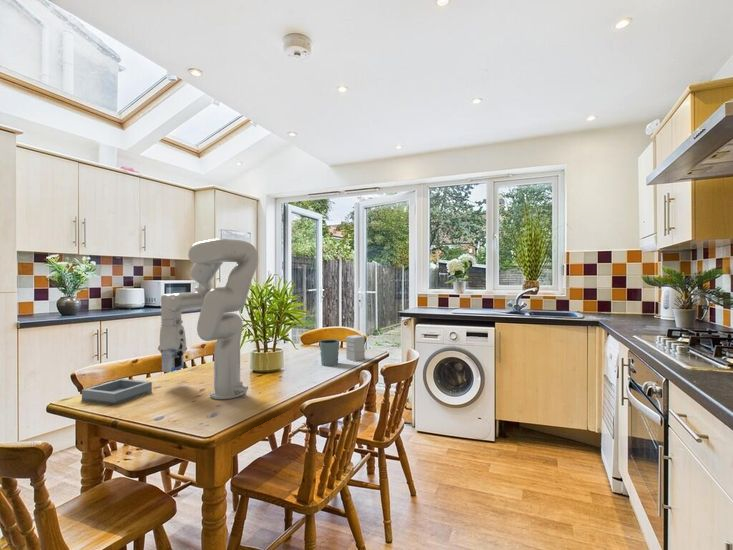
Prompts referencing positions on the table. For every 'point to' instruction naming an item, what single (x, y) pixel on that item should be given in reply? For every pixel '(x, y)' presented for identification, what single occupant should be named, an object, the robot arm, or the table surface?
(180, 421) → the table surface
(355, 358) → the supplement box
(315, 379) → the table surface
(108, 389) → the tray
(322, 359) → the grey-green bucket
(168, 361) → the medicine box
